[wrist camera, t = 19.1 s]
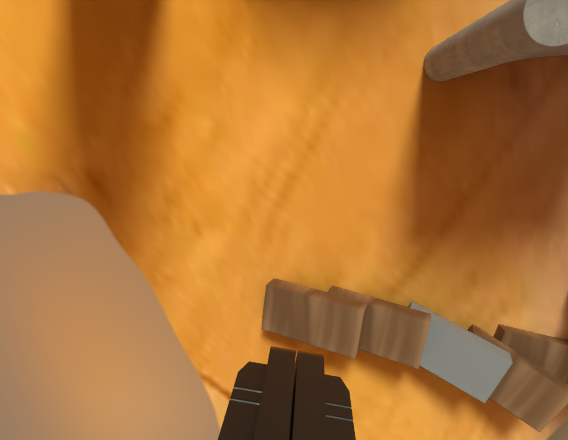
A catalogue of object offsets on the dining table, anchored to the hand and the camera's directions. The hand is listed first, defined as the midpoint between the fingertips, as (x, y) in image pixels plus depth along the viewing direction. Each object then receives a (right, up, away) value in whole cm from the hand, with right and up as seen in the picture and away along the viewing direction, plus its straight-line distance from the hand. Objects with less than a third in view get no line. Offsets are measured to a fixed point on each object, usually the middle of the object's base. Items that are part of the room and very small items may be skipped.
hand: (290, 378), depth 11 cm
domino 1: (-2, -4, +30) cm, 31 cm away
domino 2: (+4, -5, +30) cm, 31 cm away
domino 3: (+12, -6, +30) cm, 33 cm away
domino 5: (+18, -9, +30) cm, 36 cm away
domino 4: (+22, -9, +30) cm, 38 cm away
